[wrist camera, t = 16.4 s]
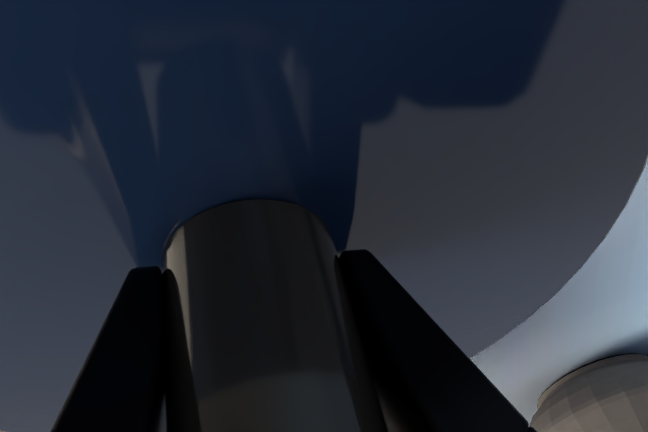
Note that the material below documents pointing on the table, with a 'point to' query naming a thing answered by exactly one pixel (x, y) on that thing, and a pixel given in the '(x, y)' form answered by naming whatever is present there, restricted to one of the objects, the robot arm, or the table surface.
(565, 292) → the table surface
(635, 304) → the table surface
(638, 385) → the coffee pot
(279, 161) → the lid
